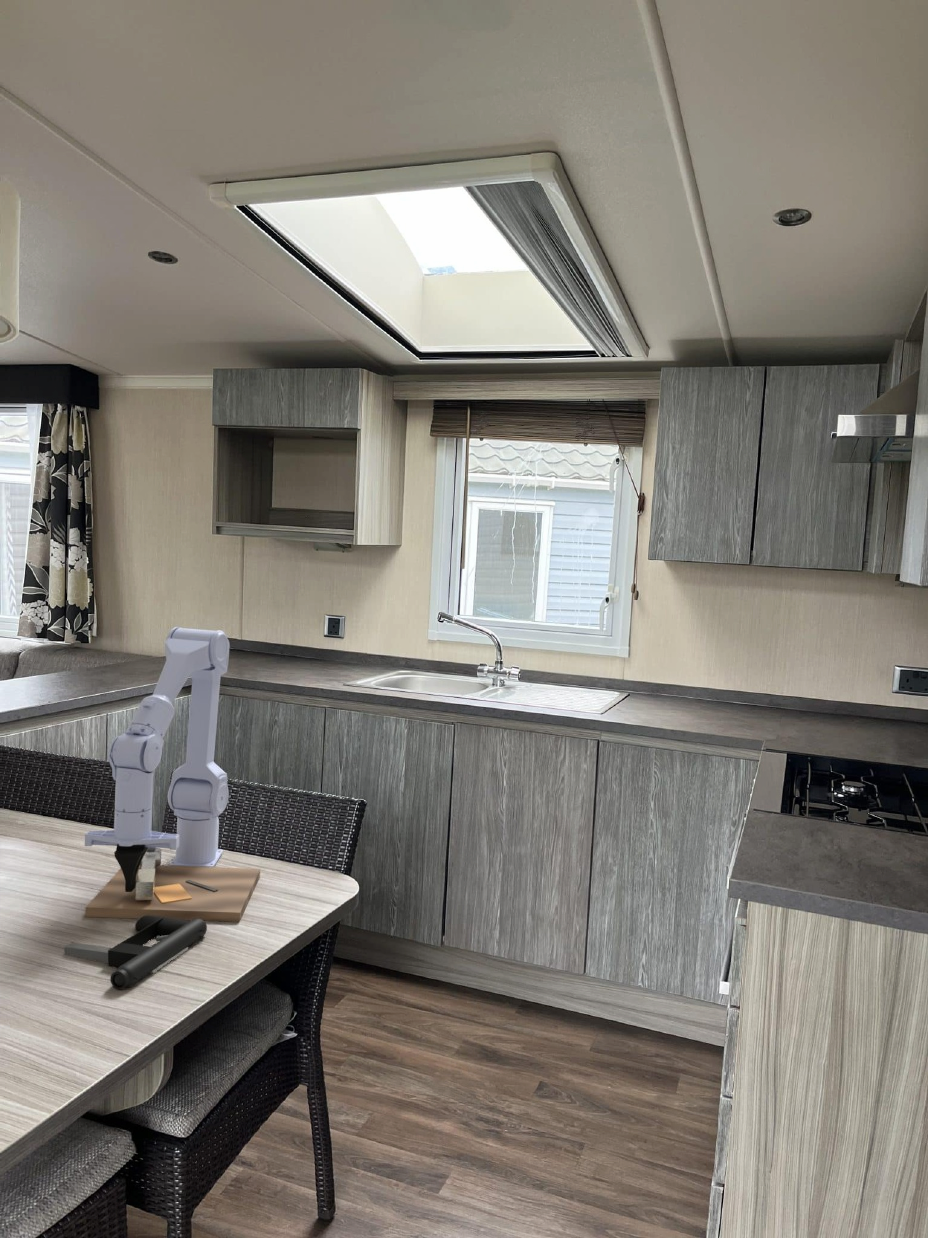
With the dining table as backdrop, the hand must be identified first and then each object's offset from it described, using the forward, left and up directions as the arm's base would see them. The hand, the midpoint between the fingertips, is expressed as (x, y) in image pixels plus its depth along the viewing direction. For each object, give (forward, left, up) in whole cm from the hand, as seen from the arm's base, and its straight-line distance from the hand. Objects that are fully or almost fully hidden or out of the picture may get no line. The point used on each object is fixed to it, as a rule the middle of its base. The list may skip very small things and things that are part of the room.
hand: (130, 889), depth 149 cm
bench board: (-5, +7, -3) cm, 9 cm away
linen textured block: (-6, +1, 0) cm, 6 cm away
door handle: (+17, +5, -3) cm, 18 cm away
